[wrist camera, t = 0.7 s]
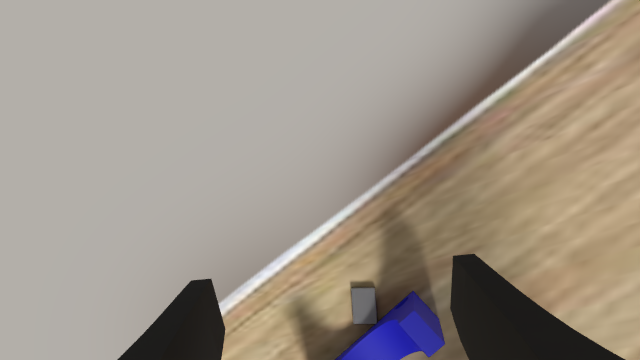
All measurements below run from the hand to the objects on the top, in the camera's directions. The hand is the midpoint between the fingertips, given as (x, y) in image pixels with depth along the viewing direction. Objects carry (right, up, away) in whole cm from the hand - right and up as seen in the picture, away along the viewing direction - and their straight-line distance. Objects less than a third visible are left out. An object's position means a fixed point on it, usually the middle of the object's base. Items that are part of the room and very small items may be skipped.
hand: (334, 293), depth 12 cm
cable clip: (+5, -12, +23) cm, 26 cm away
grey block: (+3, -7, +23) cm, 24 cm away
